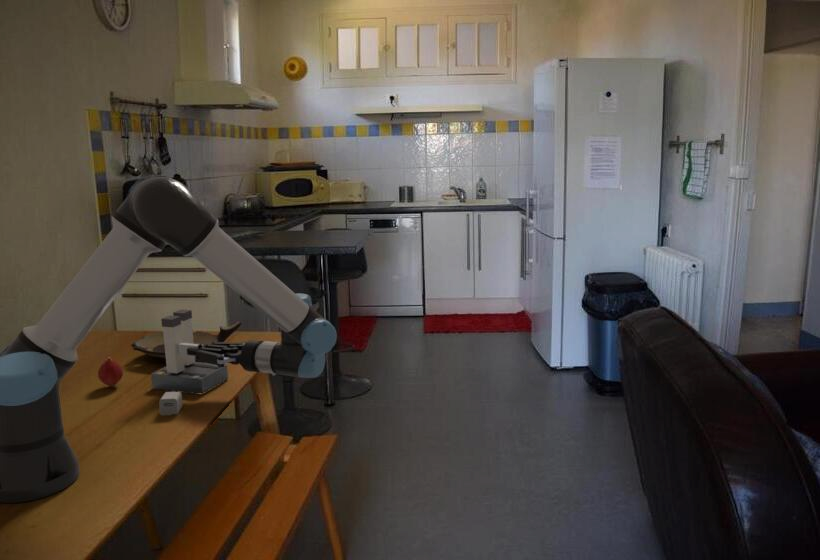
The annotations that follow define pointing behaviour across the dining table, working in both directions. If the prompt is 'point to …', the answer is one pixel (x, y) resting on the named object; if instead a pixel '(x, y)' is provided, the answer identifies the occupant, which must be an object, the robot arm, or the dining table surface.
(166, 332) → the grey square post
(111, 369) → the onion
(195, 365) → the console
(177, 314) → the white capped post
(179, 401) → the usb wall charger
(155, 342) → the broken bowl
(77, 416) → the dining table surface
